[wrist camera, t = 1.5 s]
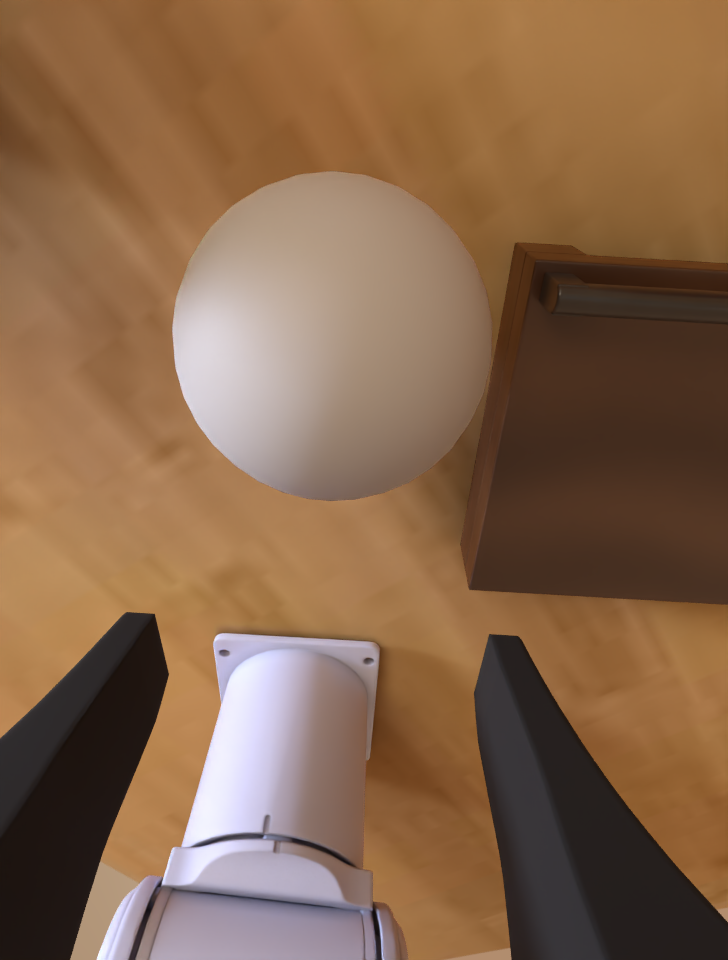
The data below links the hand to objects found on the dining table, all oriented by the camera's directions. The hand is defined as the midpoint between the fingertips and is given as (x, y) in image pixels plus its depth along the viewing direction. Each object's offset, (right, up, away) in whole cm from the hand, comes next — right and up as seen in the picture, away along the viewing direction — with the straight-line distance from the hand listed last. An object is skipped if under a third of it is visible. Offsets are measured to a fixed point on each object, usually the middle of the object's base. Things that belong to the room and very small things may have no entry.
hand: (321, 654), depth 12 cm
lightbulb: (+1, +11, +6) cm, 12 cm away
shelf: (+13, +6, +8) cm, 16 cm away
